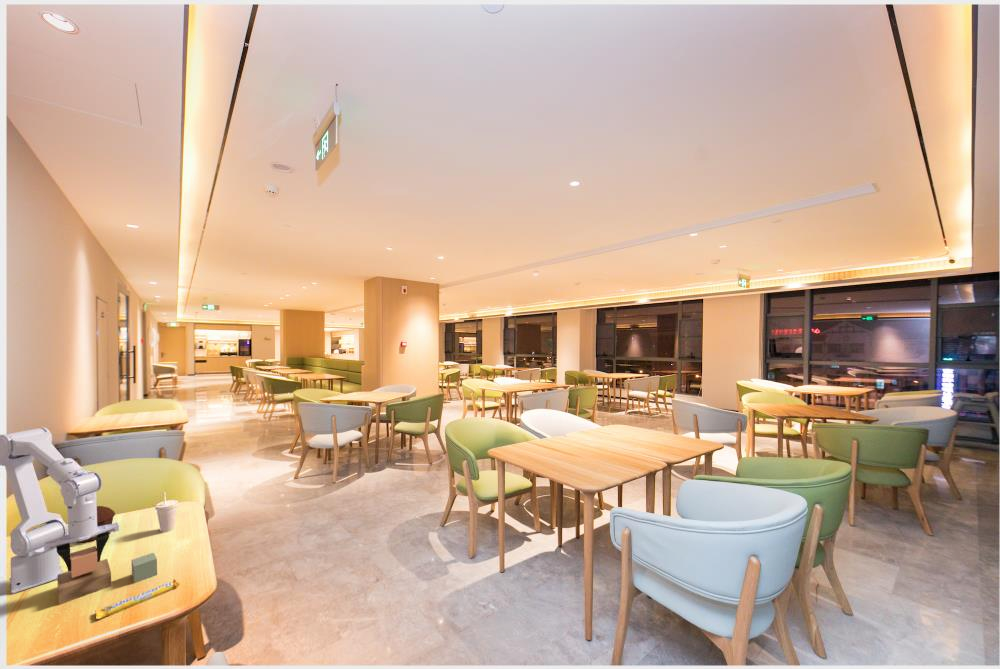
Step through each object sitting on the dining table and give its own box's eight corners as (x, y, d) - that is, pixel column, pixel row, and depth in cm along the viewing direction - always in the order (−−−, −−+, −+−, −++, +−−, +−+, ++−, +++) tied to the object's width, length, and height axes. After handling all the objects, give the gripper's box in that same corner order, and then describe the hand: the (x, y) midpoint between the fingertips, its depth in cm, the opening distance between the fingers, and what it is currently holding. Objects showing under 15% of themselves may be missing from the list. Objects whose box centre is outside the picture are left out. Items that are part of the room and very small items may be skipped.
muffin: (81, 532, 143) (80, 505, 142) (121, 525, 147) (120, 499, 147) (62, 549, 132) (61, 519, 132) (106, 541, 137) (105, 512, 136)
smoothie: (155, 529, 144) (154, 491, 144) (177, 523, 149) (176, 486, 148) (156, 536, 140) (155, 497, 139) (179, 529, 144) (178, 491, 144)
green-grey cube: (134, 583, 114) (134, 566, 114) (131, 576, 117) (131, 559, 117) (157, 575, 118) (156, 558, 118) (154, 568, 121) (153, 552, 121)
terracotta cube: (71, 578, 109) (71, 560, 109) (70, 570, 112) (70, 553, 112) (97, 569, 113) (97, 552, 113) (96, 562, 116) (95, 545, 116)
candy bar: (176, 582, 115) (176, 576, 115) (180, 589, 112) (180, 582, 112) (94, 615, 102) (93, 608, 102) (96, 623, 99) (95, 616, 99)
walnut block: (59, 604, 105) (58, 590, 105) (57, 588, 112) (57, 574, 112) (111, 585, 113) (110, 572, 113) (107, 571, 120) (107, 558, 119)
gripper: (43, 532, 104) (45, 583, 104) (119, 512, 115) (121, 558, 115) (43, 524, 109) (45, 572, 109) (116, 505, 120) (118, 549, 120)
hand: (84, 565), depth 112 cm, fingers closed on terracotta cube, 5 cm apart
